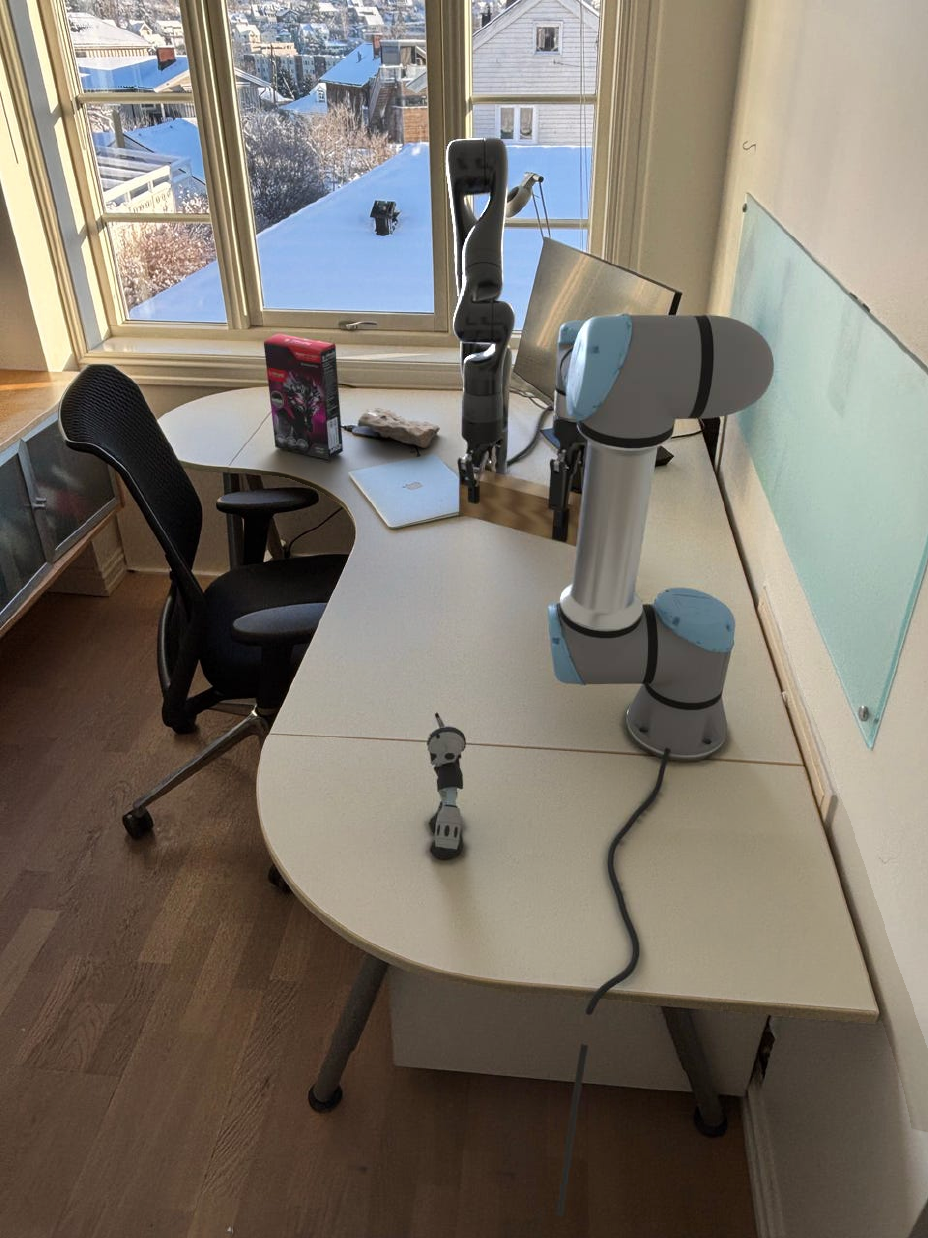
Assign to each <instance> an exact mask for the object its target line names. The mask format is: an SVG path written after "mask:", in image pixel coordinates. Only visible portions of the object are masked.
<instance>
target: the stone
mask: <svg viewBox="0 0 928 1238" xmlns="http://www.w3.org/2000/svg"><path fill="white" fill-rule="evenodd" d="M357 426H358V427H368V428H369V429H370V430H371V431H373V432H375V433H378V434H380V437H383V438H387V439H388V438H391V439H393V440H395V441H400V442H401V443H404V444H409V445H415V446H417V447H420V448H423V449H426V448H427V447H428V446H429V445H430V443H431V442H432V441H431V440H433V438H435V436H436V435H438V432H439V431H440V429H441V428H440V427H439V426H438V425H436V424H434V423H430V422H427V421H418V420H413V419H406V418H405V417H402V416H401V415H397V414H396V413H394V412H391V410H390V409H384V408H380V407H377V408H374V409H366V410H365V411H363V413H362V414H361V416H360V417H359V419H358V420H357Z"/></svg>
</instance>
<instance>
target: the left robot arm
mask: <svg viewBox="0 0 928 1238" xmlns="http://www.w3.org/2000/svg"><path fill="white" fill-rule="evenodd" d="M445 158H446V159H445V163H446V165H445V167H446V177H447V184H448V193H449V201H450V209H451V216H452V217H451V218H452V224H453V235H454V236H453V237H454V238H453V239H454V264H455V281H456V289H457V300H458V302H457V305H456V309H455V312H454V316H453V321H452V322H453V323H452V328H453V333H454V334H455V337H456V339H458V340H459V342H460V345H459V346H460V347H459V349H460V351H459V352H460V353H459V355H460V356H459V357H460V360H459V361H460V374H461V378H462V380H463V383H462V388H463V389H462V397H461V433H460V434H461V437H462V439H463V440H464V441H465V442H466V450H465V456H464V457H458V458H457V468H458V477H459V476H460V482H461V485H466V486H468V502H470V503H474V504H477V503H478V502H479V493H480V486H479V484H480V478H481V475H483V474H484V470H487V471H491V472H495V473H499V474H503V475H507V468H508V465H511V464H512V463H514V462H516V461H517V460H518V459H520V458H521V457H522V456H523V455H525V454H526V453H527V452H528V451H529V450H530V449H531V448H532V446H533V445H534V444H535V441H536V440H537V437H538V435H539V431H540V428H541V424H542V421H543V418H544V416H545V415H546V414H547V413H548V412H549V411H550V410H551V409H552V408H553V407H552V406H550V404H549V405H548V406H547V407H545V408H544V410H543V411H542V412H541V413H540V415H539V417H538V420H537V423H536V425H535V431H534V434H533V435H532V438H531V440H530V442H529V443H528V444H527V445H526V447H525V448H524V449H522V450H521V451H520V452H519V453H517V454H516V455H514V456H513V457H511V458H510V459H509V460H508V443H509V414H510V412H509V410H510V394H511V393H510V390H511V381H512V380H511V379H512V368H513V352H512V348H511V346H510V341H511V338H512V335H513V333H514V328H515V325H516V315H515V310H514V308H513V307H512V305H511V304H510V303H509V302H507V301H504V300H499V299H500V297H501V295H502V292H503V286H504V266H503V265H504V264H503V241H504V239H503V238H504V230H505V221H506V211H507V200H508V187H509V157H508V150H507V146H506V144H505V142H504V140H503V139H502V138H498V137H497V138H496V137H485V138H483V137H481V138H465V139H464V138H463V139H455V140H452V141H450V142H449V144H448V146H447V148H446V156H445ZM486 195H488V196H489V198H488V201H487V204H486V206H485V208H484V210H483V212H482V213H481V215H480V217H479V218H478V219H477V217H476V215H475V214H474V211H473V209H472V206H471V204H470V202H469V198H468V197H469V196H486ZM473 467H475V468H479V470H478V469H474V468H473ZM474 474H476V478H475V479H474Z"/></svg>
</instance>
